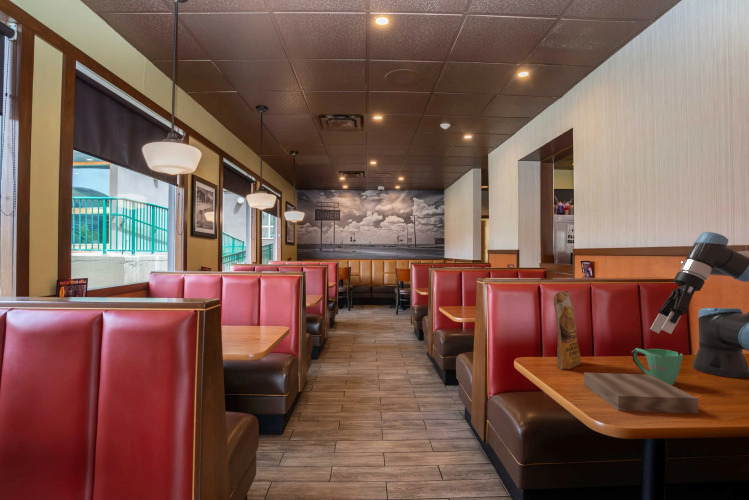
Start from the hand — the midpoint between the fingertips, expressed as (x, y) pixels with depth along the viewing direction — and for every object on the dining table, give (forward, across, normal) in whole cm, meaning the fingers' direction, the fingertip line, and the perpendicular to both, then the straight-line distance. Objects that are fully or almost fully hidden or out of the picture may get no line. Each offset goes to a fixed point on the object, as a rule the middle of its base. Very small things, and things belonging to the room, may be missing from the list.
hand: (659, 331), depth 125 cm
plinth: (+23, +18, -1) cm, 29 cm away
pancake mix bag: (+26, -11, -18) cm, 33 cm away
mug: (+15, -3, +6) cm, 17 cm away
